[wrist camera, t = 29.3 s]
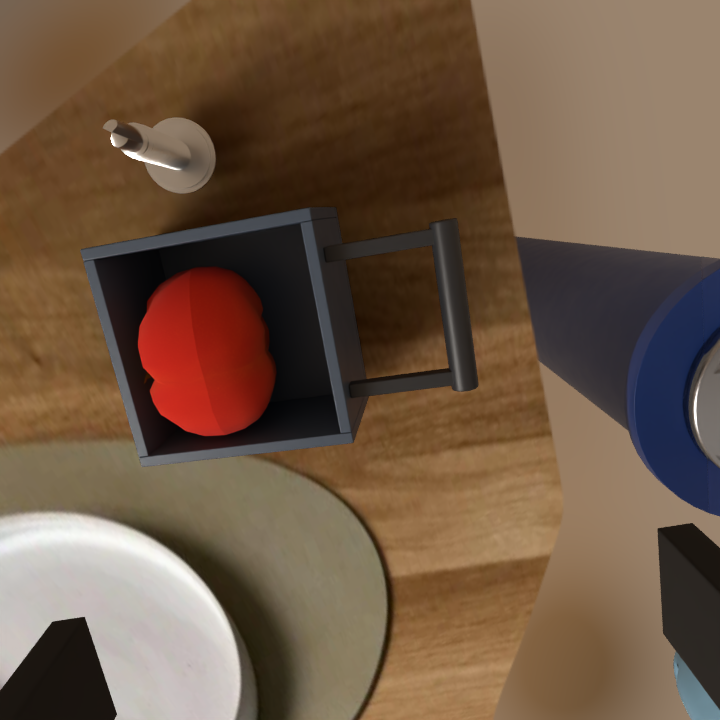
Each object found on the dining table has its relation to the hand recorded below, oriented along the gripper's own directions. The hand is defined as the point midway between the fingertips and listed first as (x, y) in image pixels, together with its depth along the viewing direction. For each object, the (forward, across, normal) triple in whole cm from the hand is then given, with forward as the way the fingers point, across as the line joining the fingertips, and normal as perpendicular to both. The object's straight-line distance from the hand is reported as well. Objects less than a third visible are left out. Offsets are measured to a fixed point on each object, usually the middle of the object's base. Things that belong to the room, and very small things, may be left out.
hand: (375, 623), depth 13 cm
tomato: (+25, -6, +2) cm, 26 cm away
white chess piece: (+32, -10, +15) cm, 37 cm away
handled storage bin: (+30, -3, +3) cm, 31 cm away
